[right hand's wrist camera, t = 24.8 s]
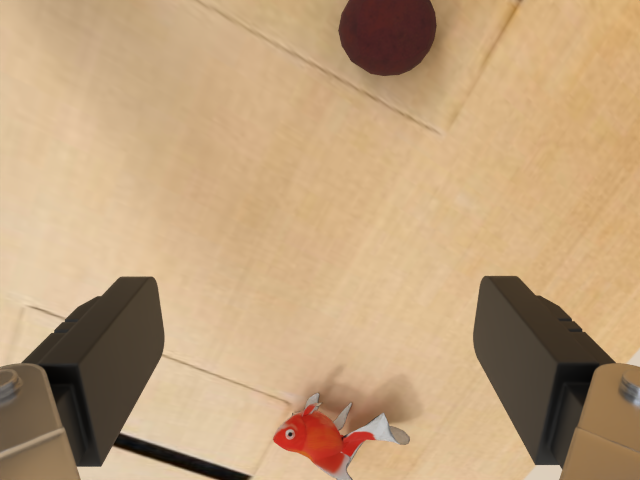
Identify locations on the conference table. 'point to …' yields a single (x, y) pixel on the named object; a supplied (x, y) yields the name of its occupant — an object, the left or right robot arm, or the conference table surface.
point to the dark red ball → (387, 34)
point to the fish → (331, 437)
